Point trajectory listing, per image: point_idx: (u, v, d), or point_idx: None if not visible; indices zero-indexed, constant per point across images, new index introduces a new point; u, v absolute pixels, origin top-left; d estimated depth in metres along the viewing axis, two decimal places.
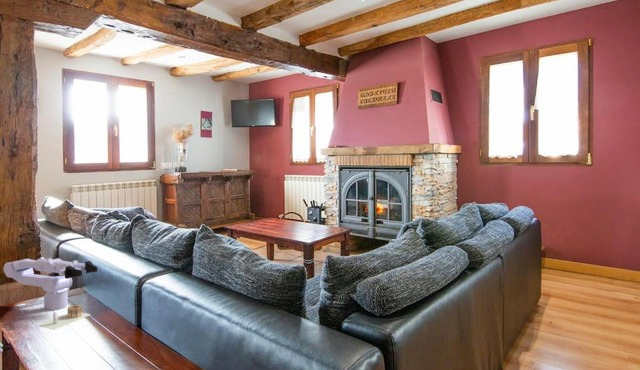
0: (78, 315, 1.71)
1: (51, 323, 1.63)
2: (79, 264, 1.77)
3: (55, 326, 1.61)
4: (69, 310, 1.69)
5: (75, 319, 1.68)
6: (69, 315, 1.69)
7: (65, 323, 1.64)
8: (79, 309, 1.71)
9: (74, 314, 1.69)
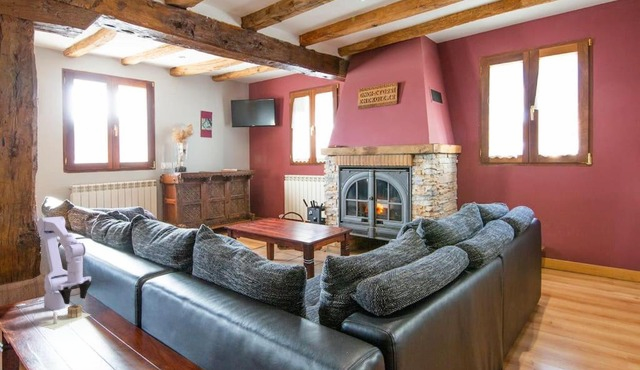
0: (78, 315, 1.71)
1: (51, 323, 1.63)
2: None
3: (55, 326, 1.61)
4: (69, 310, 1.69)
5: (75, 319, 1.68)
6: (69, 315, 1.69)
7: (65, 323, 1.64)
8: (79, 309, 1.71)
9: (74, 314, 1.69)
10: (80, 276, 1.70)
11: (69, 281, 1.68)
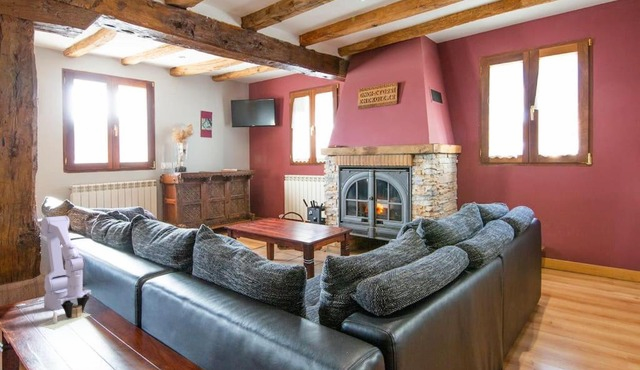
0: (78, 315, 1.71)
1: (51, 323, 1.63)
2: None
3: (55, 326, 1.61)
4: None
5: (75, 319, 1.68)
6: None
7: (65, 323, 1.64)
8: (79, 309, 1.71)
9: (74, 314, 1.69)
10: (80, 290, 1.70)
11: (69, 295, 1.68)
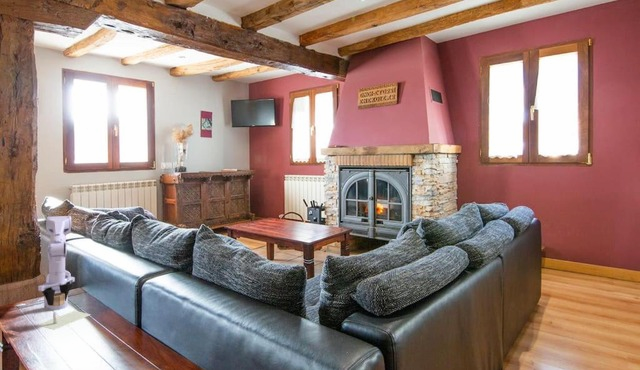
0: (60, 303, 1.62)
1: (51, 323, 1.63)
2: None
3: (55, 326, 1.61)
4: None
5: (75, 319, 1.68)
6: None
7: (65, 323, 1.64)
8: (62, 297, 1.63)
9: (56, 302, 1.61)
10: (62, 277, 1.62)
11: (51, 282, 1.60)
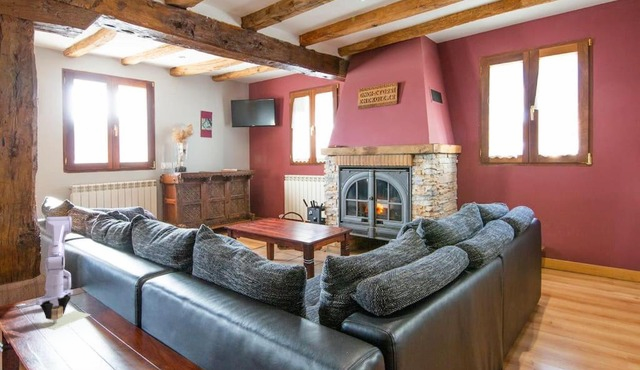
0: (58, 316, 1.62)
1: (51, 323, 1.63)
2: None
3: (55, 326, 1.61)
4: None
5: (75, 319, 1.68)
6: None
7: (65, 323, 1.64)
8: (60, 310, 1.62)
9: (54, 315, 1.61)
10: (60, 290, 1.62)
11: (48, 295, 1.60)
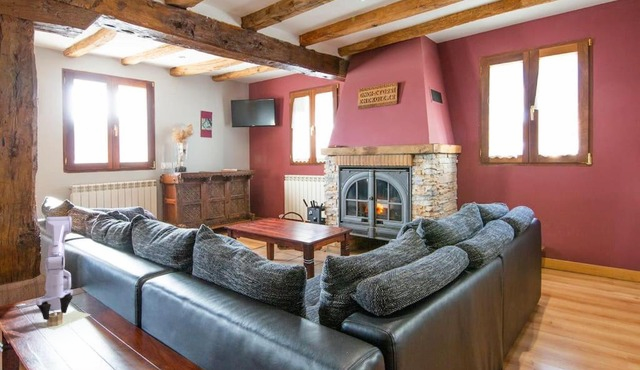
0: (58, 323, 1.62)
1: None
2: None
3: (55, 326, 1.61)
4: (49, 318, 1.61)
5: (75, 319, 1.68)
6: (49, 323, 1.61)
7: (65, 323, 1.64)
8: (59, 316, 1.62)
9: (54, 322, 1.61)
10: (60, 290, 1.62)
11: (48, 295, 1.60)
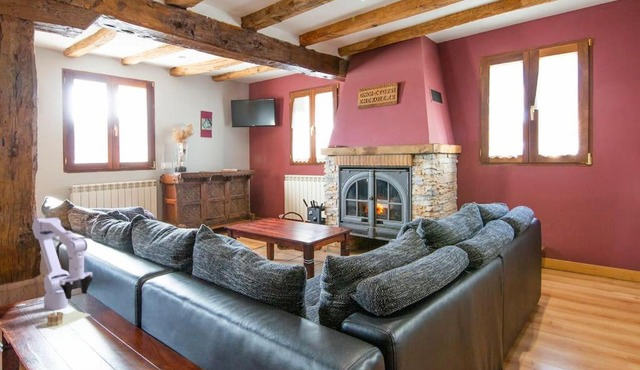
0: (58, 323, 1.62)
1: None
2: None
3: (55, 326, 1.61)
4: (49, 318, 1.61)
5: (75, 319, 1.68)
6: (49, 323, 1.61)
7: (65, 323, 1.64)
8: (59, 316, 1.62)
9: (54, 322, 1.61)
10: (81, 271, 1.72)
11: (71, 276, 1.70)
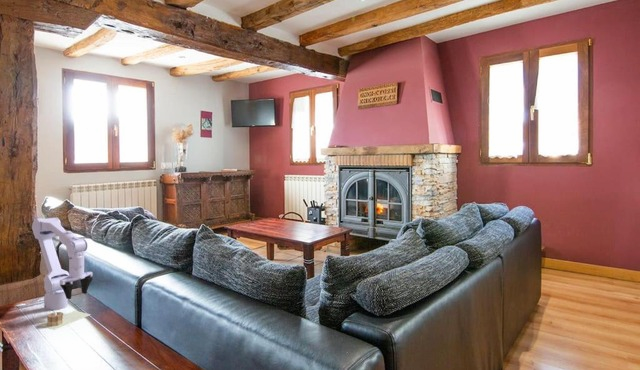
0: (58, 323, 1.62)
1: None
2: None
3: (55, 326, 1.61)
4: (49, 318, 1.61)
5: (75, 319, 1.68)
6: (49, 323, 1.61)
7: (65, 323, 1.64)
8: (59, 316, 1.62)
9: (54, 322, 1.61)
10: (82, 271, 1.72)
11: (71, 276, 1.70)
